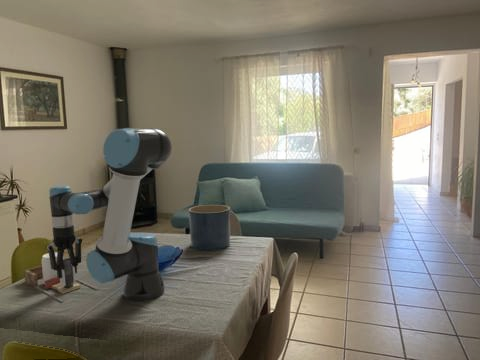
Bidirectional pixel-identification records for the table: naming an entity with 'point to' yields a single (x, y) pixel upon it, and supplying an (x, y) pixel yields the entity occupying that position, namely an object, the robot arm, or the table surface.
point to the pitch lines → (59, 298)
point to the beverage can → (48, 268)
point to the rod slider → (69, 283)
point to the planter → (209, 227)
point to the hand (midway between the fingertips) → (68, 283)
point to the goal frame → (33, 275)
